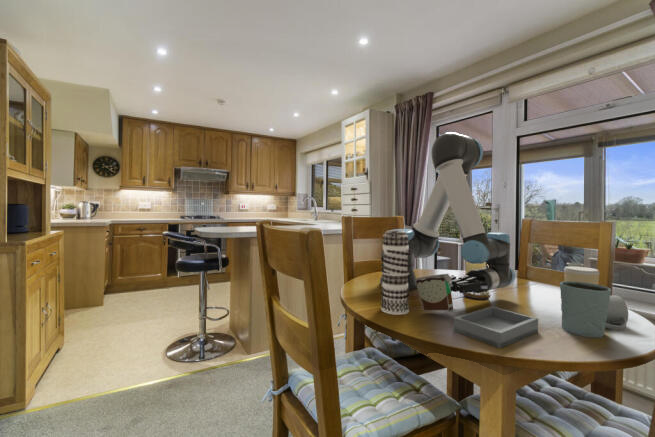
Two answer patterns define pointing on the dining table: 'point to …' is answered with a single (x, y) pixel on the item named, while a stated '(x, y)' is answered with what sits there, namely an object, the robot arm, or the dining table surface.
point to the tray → (496, 326)
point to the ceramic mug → (616, 313)
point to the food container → (435, 292)
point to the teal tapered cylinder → (584, 308)
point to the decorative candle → (395, 272)
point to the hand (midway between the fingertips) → (435, 289)
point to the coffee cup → (581, 274)
